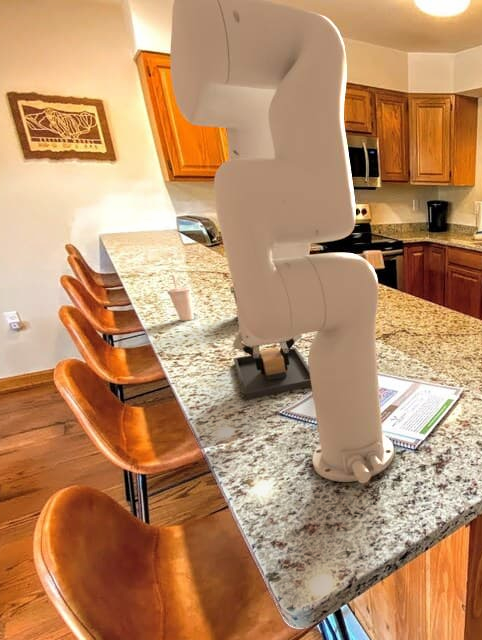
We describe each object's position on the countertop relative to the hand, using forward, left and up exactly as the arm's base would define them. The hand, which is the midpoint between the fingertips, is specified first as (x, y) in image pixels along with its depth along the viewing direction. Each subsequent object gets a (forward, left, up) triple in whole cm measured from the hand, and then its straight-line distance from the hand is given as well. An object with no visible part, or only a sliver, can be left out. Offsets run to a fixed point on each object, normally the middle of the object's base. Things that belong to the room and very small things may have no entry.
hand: (273, 369), depth 96 cm
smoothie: (+60, +17, -2) cm, 62 cm away
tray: (0, 0, -2) cm, 2 cm away
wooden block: (0, 0, -1) cm, 1 cm away
